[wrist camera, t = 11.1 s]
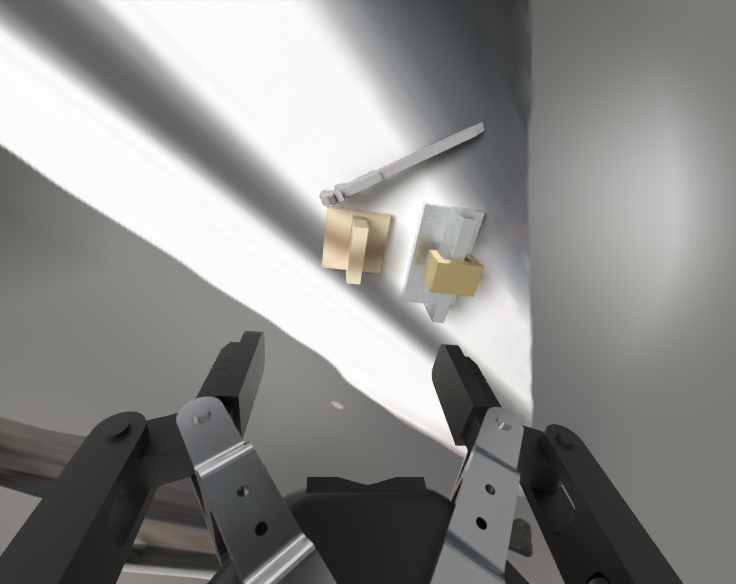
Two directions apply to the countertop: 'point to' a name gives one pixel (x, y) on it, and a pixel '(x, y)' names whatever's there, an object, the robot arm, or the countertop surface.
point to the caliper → (397, 166)
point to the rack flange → (439, 251)
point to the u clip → (451, 274)
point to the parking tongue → (355, 241)
